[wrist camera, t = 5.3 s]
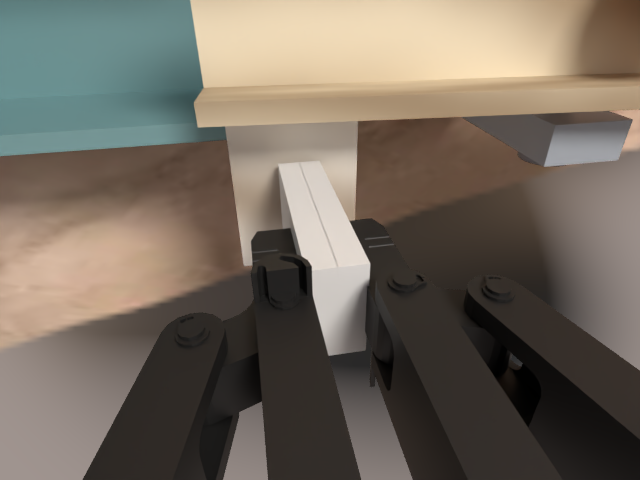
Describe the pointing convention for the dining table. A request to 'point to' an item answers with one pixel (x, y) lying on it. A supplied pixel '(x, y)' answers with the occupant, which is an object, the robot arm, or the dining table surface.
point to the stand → (559, 135)
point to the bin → (98, 75)
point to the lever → (393, 76)
